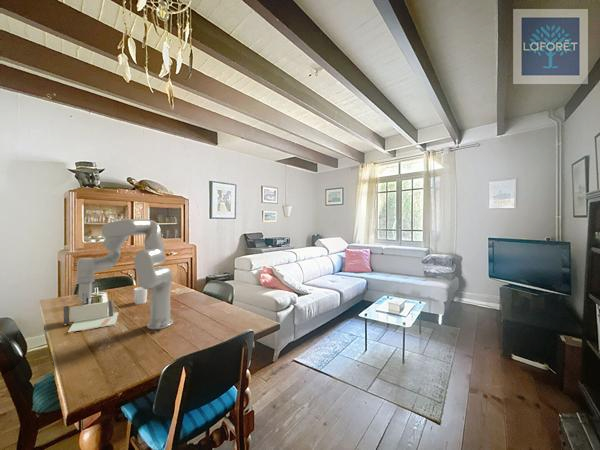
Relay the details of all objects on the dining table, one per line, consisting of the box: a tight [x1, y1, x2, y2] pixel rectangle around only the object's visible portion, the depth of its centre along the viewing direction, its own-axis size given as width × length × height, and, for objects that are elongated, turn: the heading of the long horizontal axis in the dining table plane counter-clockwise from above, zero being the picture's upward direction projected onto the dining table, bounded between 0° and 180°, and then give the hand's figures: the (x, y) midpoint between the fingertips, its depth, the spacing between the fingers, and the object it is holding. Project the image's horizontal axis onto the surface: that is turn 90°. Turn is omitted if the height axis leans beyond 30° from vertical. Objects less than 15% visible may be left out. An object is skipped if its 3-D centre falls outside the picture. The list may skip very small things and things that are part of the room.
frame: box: [63, 299, 119, 332], centre depth 132 cm, size 19×23×10 cm
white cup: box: [133, 286, 148, 305], centre depth 166 cm, size 8×8×10 cm
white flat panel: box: [69, 301, 108, 323], centre depth 135 cm, size 16×1×8 cm, turn 122°
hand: (86, 311), depth 138 cm, fingers closed
